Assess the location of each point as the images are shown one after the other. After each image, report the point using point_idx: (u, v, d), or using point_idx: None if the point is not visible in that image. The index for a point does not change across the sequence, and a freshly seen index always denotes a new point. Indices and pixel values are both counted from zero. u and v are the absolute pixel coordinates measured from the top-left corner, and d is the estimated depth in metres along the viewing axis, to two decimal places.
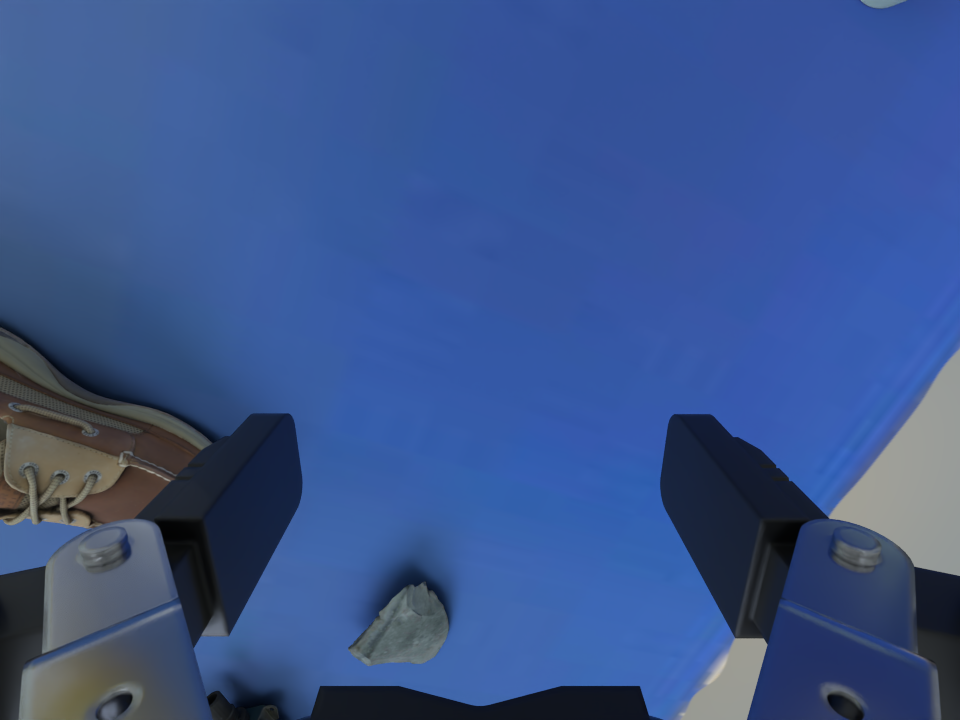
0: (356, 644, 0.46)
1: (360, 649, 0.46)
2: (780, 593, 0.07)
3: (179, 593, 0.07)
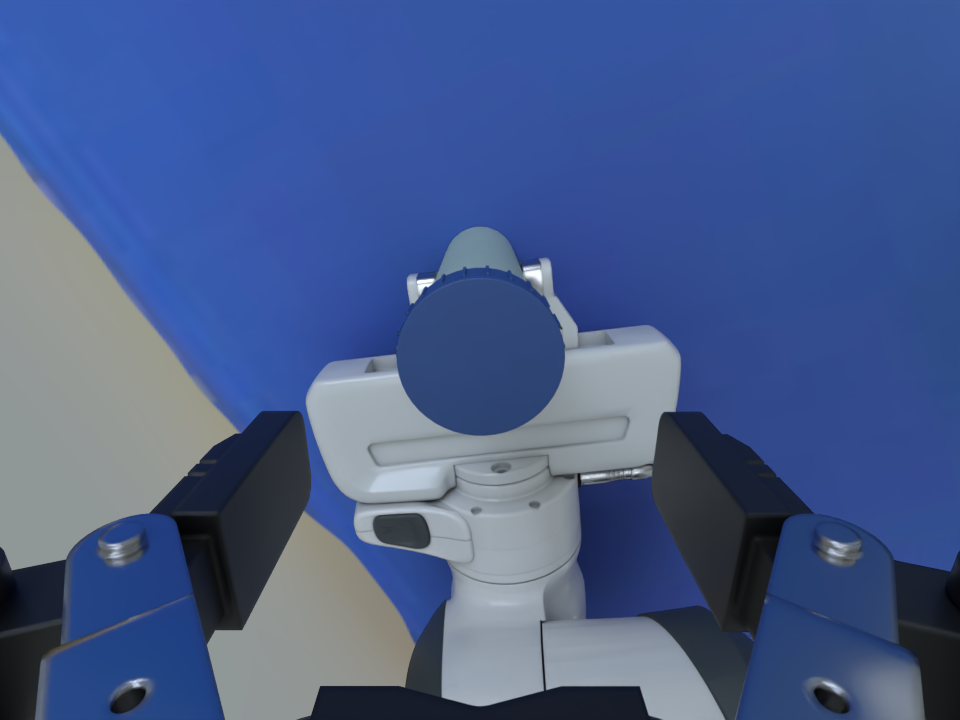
0: None
1: None
2: (764, 586, 0.07)
3: (195, 587, 0.07)
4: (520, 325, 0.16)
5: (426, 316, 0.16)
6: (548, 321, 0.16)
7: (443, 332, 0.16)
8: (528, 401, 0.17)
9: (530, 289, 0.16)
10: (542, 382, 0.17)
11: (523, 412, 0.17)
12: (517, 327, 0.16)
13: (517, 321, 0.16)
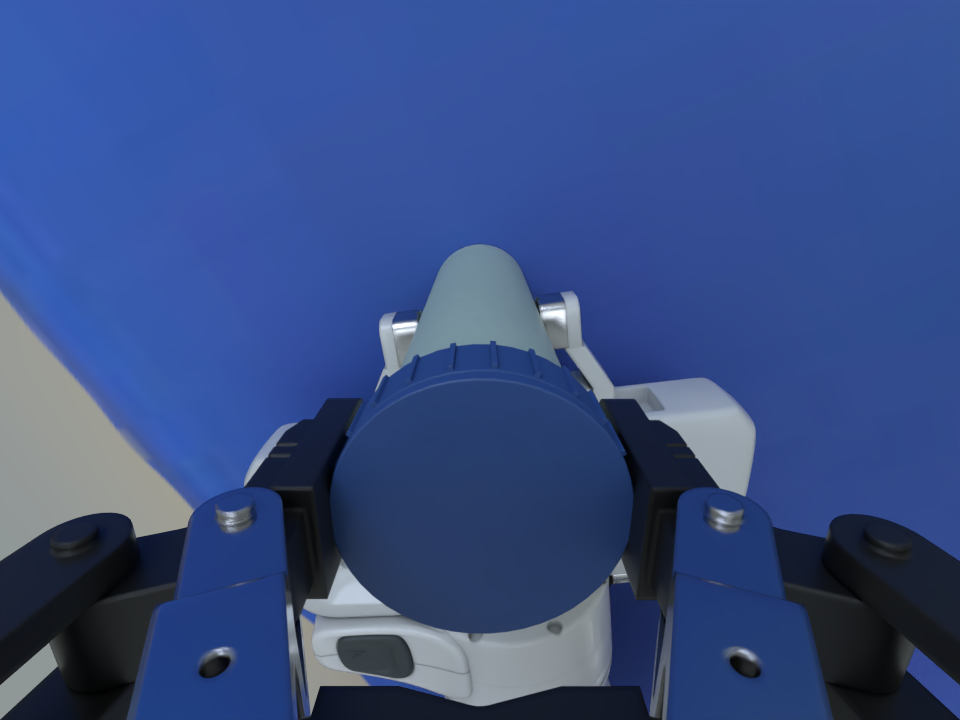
0: None
1: None
2: (665, 555, 0.08)
3: (295, 555, 0.08)
4: (555, 460, 0.09)
5: (380, 445, 0.08)
6: (607, 453, 0.09)
7: (412, 472, 0.09)
8: (566, 582, 0.09)
9: (573, 392, 0.09)
10: (591, 552, 0.09)
11: (556, 599, 0.10)
12: (549, 464, 0.09)
13: (549, 454, 0.09)
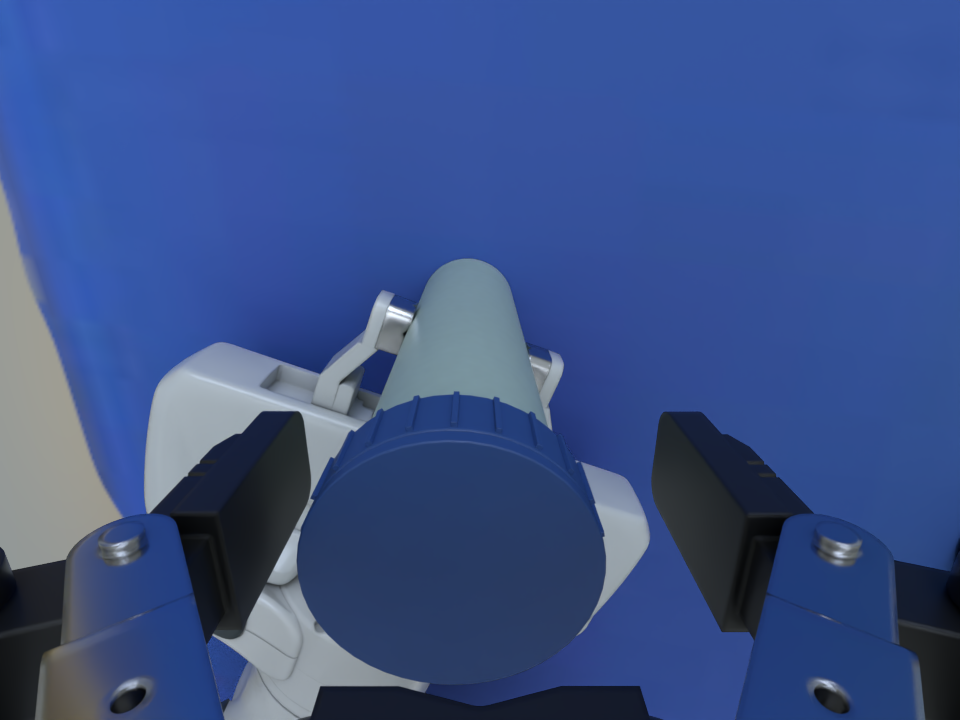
0: None
1: None
2: (764, 587, 0.07)
3: (195, 587, 0.07)
4: (442, 493, 0.08)
5: (326, 591, 0.09)
6: (470, 453, 0.08)
7: (367, 589, 0.09)
8: (572, 561, 0.09)
9: (407, 429, 0.08)
10: (561, 525, 0.09)
11: (583, 578, 0.09)
12: (441, 499, 0.08)
13: (432, 493, 0.08)
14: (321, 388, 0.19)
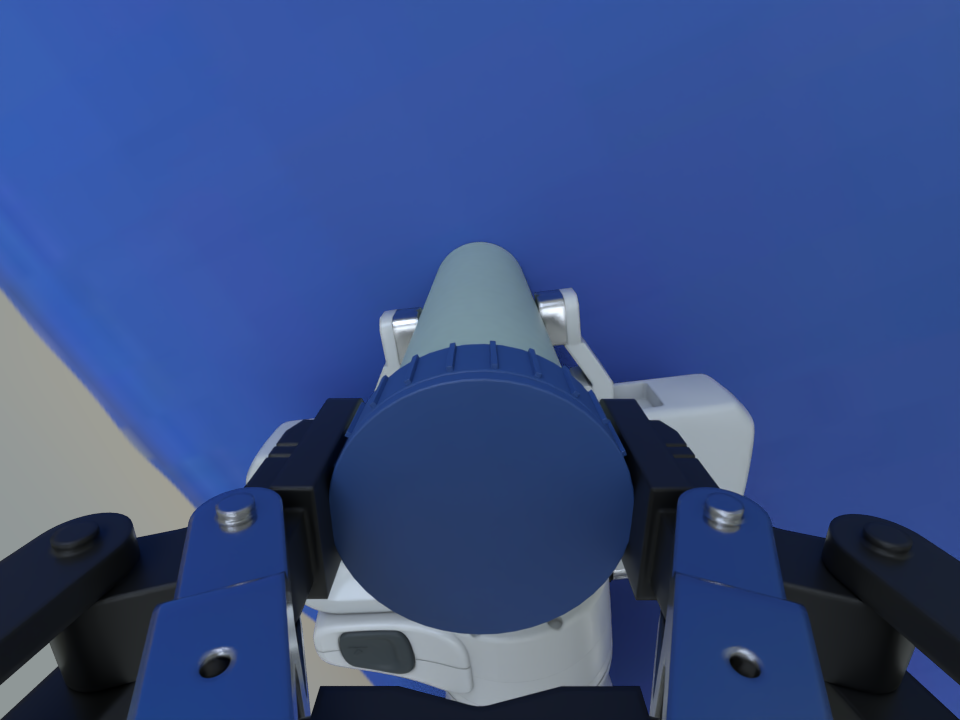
0: None
1: None
2: (665, 554, 0.08)
3: (296, 555, 0.08)
4: (426, 447, 0.08)
5: (384, 581, 0.09)
6: (427, 399, 0.08)
7: (416, 563, 0.09)
8: (582, 458, 0.09)
9: (372, 406, 0.09)
10: (550, 428, 0.08)
11: (603, 470, 0.09)
12: (428, 453, 0.08)
13: (417, 451, 0.08)
14: None
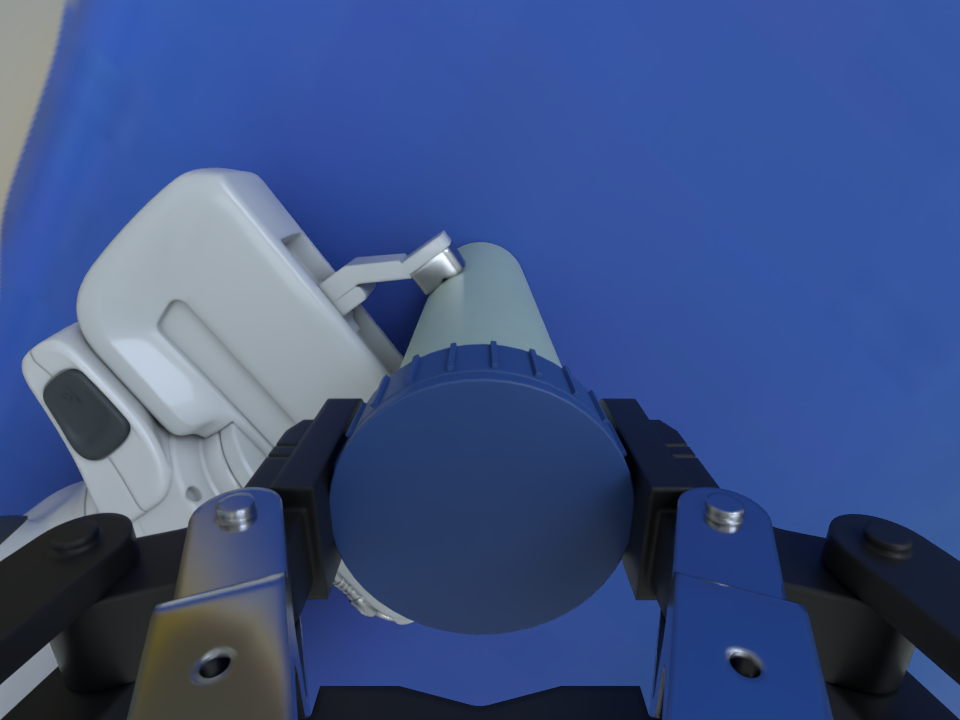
0: None
1: None
2: (665, 555, 0.08)
3: (295, 555, 0.08)
4: (426, 447, 0.08)
5: (384, 580, 0.09)
6: (427, 399, 0.08)
7: (416, 563, 0.09)
8: (583, 458, 0.09)
9: (372, 406, 0.09)
10: (550, 428, 0.08)
11: (603, 470, 0.09)
12: (429, 453, 0.08)
13: (417, 451, 0.08)
14: (337, 278, 0.18)
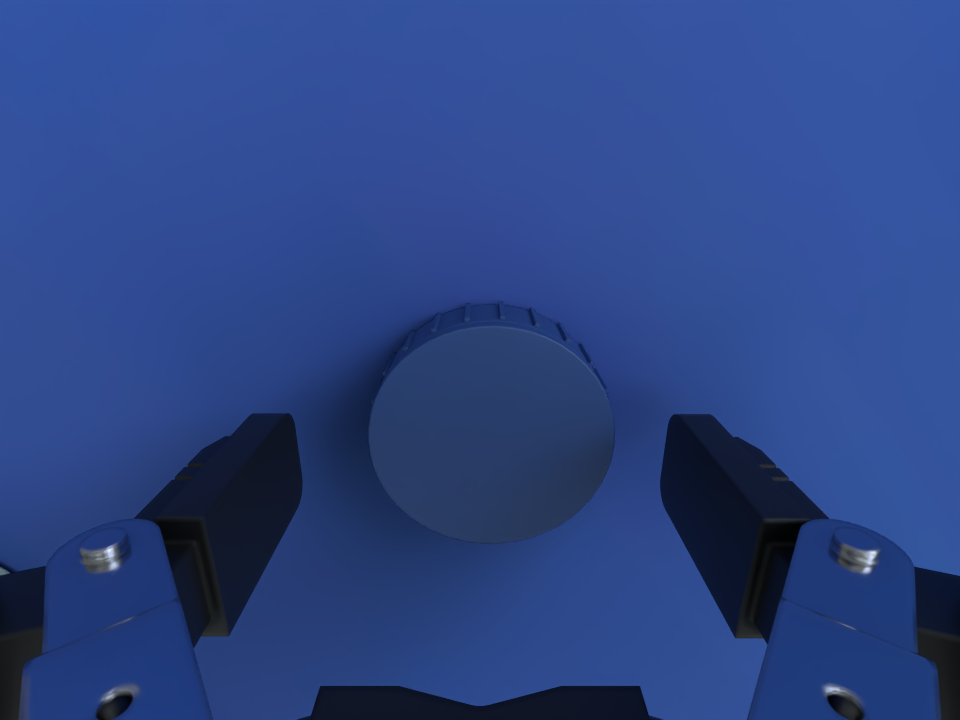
0: None
1: None
2: (780, 593, 0.07)
3: (179, 593, 0.07)
4: (448, 382, 0.11)
5: (411, 495, 0.12)
6: (449, 342, 0.10)
7: (437, 481, 0.11)
8: (572, 392, 0.11)
9: (404, 350, 0.11)
10: (546, 366, 0.10)
11: (589, 402, 0.11)
12: (449, 387, 0.11)
13: (440, 385, 0.11)
14: None
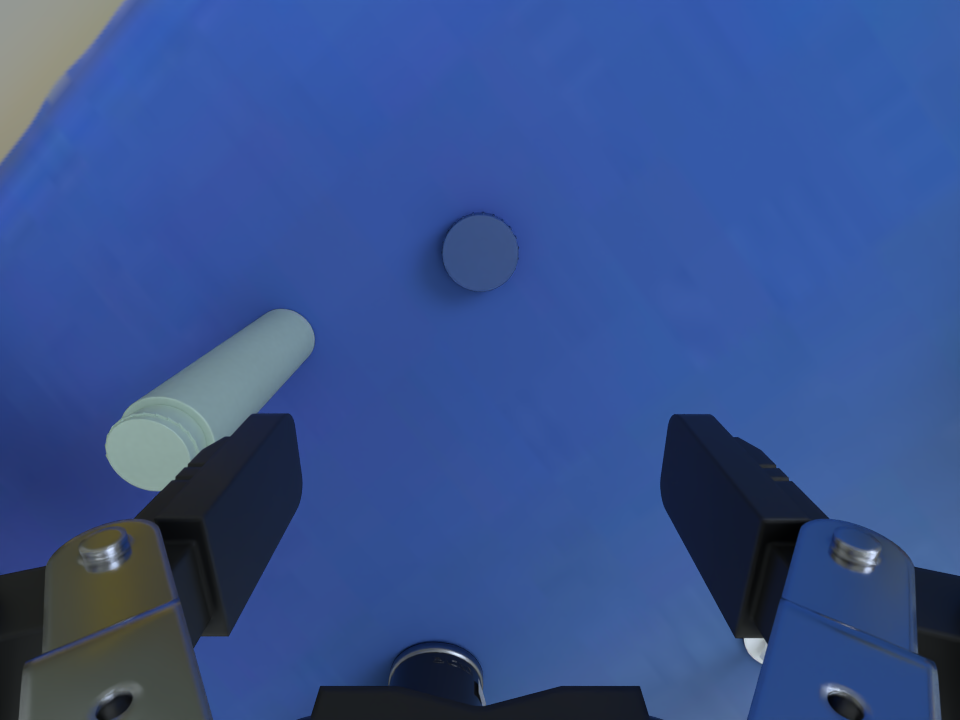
0: None
1: None
2: (780, 593, 0.07)
3: (179, 593, 0.07)
4: (467, 233, 0.36)
5: (455, 273, 0.37)
6: (467, 220, 0.35)
7: (463, 267, 0.36)
8: (504, 236, 0.36)
9: (453, 224, 0.36)
10: (496, 228, 0.36)
11: (509, 239, 0.36)
12: (467, 234, 0.36)
13: (465, 234, 0.36)
14: None
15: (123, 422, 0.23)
